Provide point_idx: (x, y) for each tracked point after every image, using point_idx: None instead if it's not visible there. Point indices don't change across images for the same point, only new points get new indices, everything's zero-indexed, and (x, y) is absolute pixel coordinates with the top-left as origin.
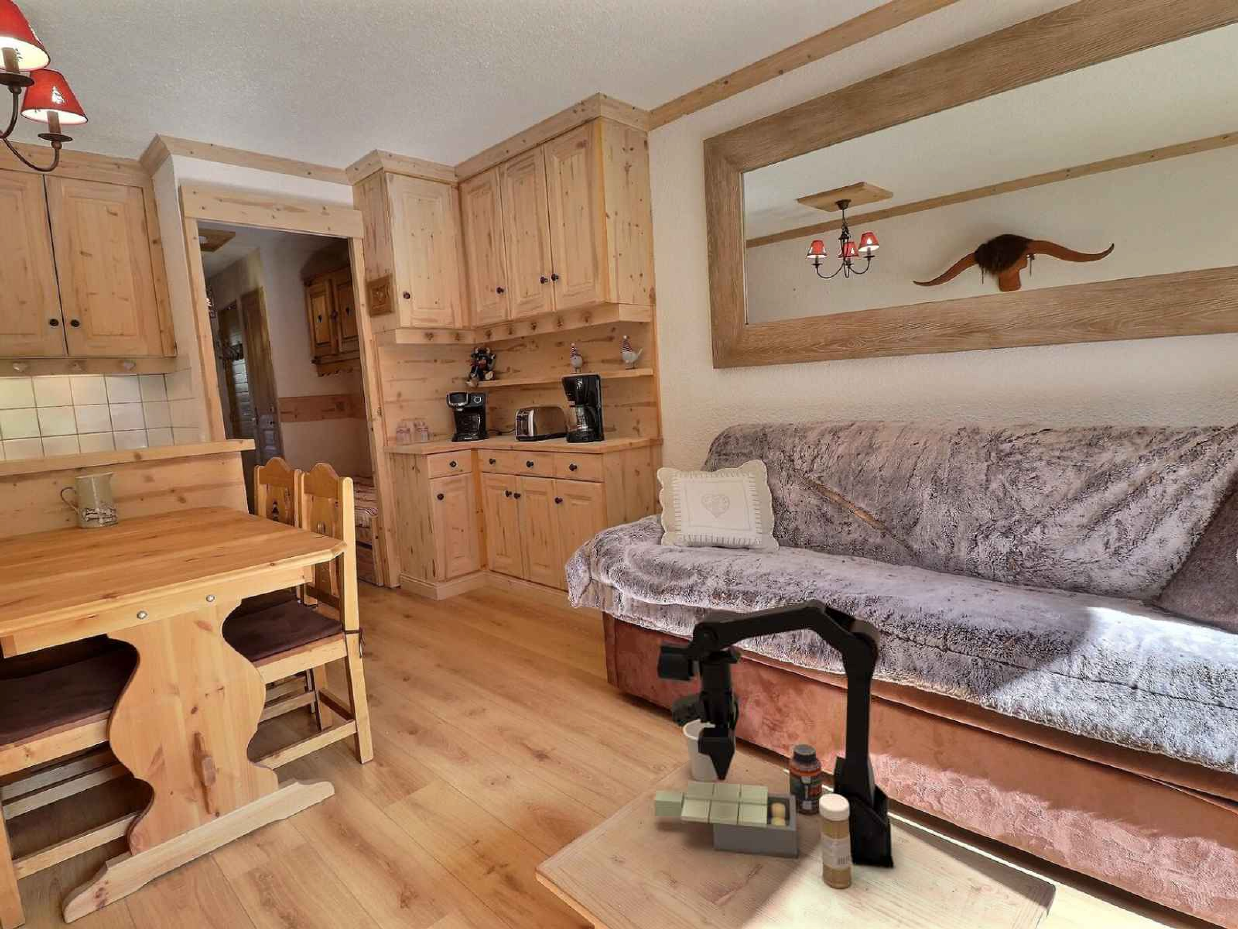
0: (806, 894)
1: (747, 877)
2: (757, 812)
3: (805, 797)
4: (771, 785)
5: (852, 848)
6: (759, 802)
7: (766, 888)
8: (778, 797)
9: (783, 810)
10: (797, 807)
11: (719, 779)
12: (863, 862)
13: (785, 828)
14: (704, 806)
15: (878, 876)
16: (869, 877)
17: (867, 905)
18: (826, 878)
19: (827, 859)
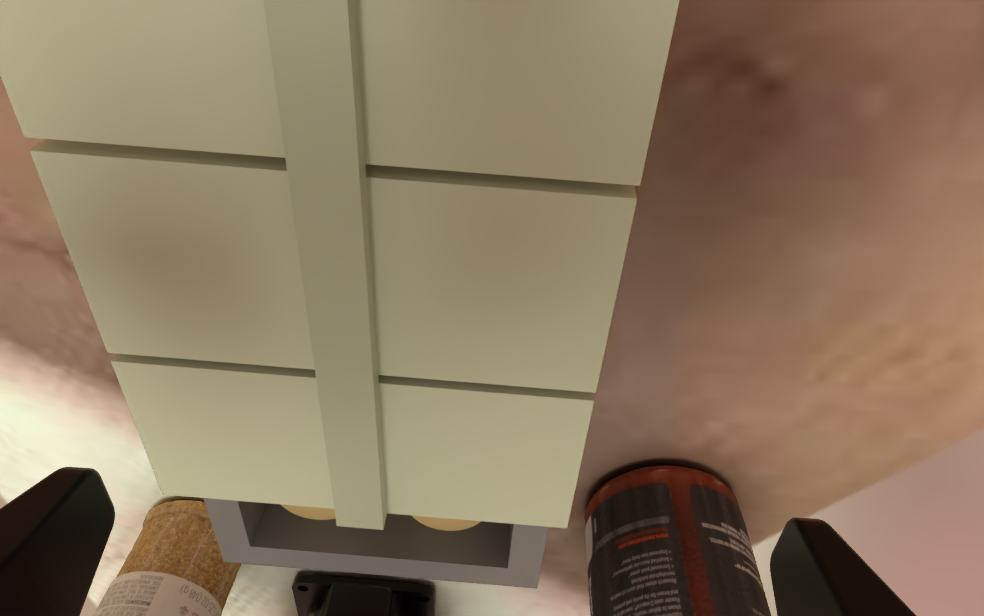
0: (75, 443)
1: (54, 248)
2: (256, 464)
3: (591, 580)
4: (873, 400)
5: (320, 613)
6: (336, 497)
7: (26, 321)
8: (512, 531)
9: (421, 522)
10: (607, 497)
11: (60, 480)
12: (296, 603)
13: (224, 530)
14: (189, 99)
15: (264, 607)
16: (251, 591)
17: (118, 568)
18: (152, 521)
19: (98, 607)
